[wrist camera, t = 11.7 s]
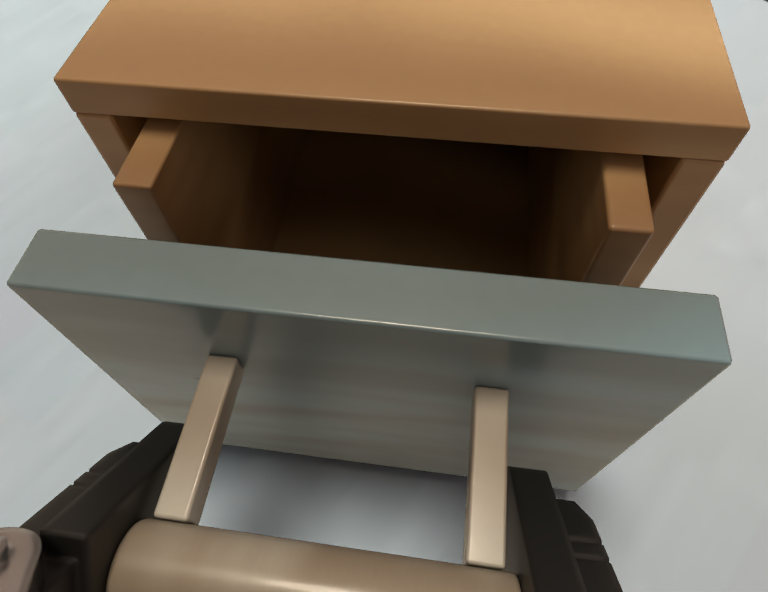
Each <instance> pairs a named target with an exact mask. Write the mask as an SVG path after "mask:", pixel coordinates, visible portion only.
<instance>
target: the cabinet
mask: <svg viewBox="0 0 768 592" xmlns="http://www.w3.org/2000/svg"><path fill="white" fill-rule="evenodd" d="M54 81H55V83H56V85H57V86H58V88H59V89H60V91H61V93H62V94H63V96H64V97H65V99H66V101H67V102H68V104H69V105H70V107H71V109H72V110H73V111H74V112H76V114H77V117H78V119H79V120H80V122H81V123H82V125H83V127H84V128H85V130H86V131H87V133H88V135H89V136H90V138H91V139H92V141H93V143H94V144H95V146H96V147H97V149H98V151H99V152H100V154H101V155H102V157H103V159H104V160H105V162H106V163H107V165H108V167H109V168H110V170H111V171H112V173H113V175H114V176H115V178H116V176H117V174H118V172H119V171H120V169H121V167H122V165H123V163H124V161H125V160H126V158H127V156H128V154H129V152H130V150H131V149H132V147H133V145H134V143H135V141H136V139H137V137H138V136H139V134H140V132H141V130H142V128H143V126H144V125H145V123H146V121H147V119H148V118H160V119H173V120H186V121H200V122H213V123H226V124H239V125H253V126H266V127H279V128H292V129H306V130H319V131H332V132H345V133H359V134H372V135H385V136H398V137H412V138H425V139H438V140H451V141H465V142H478V143H491V144H504V145H518V146H531V147H544V148H557V149H571V150H584V151H597V152H610V153H624V154H637V155H642V156H643V162H644V168H645V175H646V181H647V187H648V193H649V200H650V206H651V212H652V219H653V225H654V234H653V235H652V237H651V239H650V240H649V242H648V243H647V245H646V246H645V248H644V250H643V251H642V253H641V254H640V256H639V258H638V259H637V261H636V262H635V264H634V265H633V267H632V269H631V270H630V272H629V273H628V275H627V277H626V278H625V280H624V281H623V283H622V284H621V286H627V287H637V288H639V287H640V286H641V284H642V283H643V281H644V280H645V278H646V277H647V276H648V274H649V273H650V271H651V270H652V268H653V267H654V265H655V264H656V263H657V261H658V260H659V258H660V257H661V255H662V254H663V252H664V251H665V249H666V248H667V247H668V245H669V244H670V242H671V241H672V239H673V238H674V236H675V235H676V234H677V232H678V231H679V229H680V228H681V226H682V225H683V223H684V222H685V220H686V219H687V218H688V216H689V215H690V213H691V212H692V210H693V209H694V207H695V206H696V205H697V203H698V202H699V200H700V199H701V197H702V196H703V194H704V193H705V192H706V190H707V189H708V187H709V186H710V184H711V183H712V181H713V180H714V178H715V177H716V176H717V174H718V173H719V171H720V170H721V168H722V167H723V165H724V162H725V161H727V160H729V158H730V157H731V155H732V154H733V152H734V151H735V150H736V148H737V147H738V145H739V144H740V142H741V141H742V139H743V138H744V137H745V135H746V134H747V132H748V131H749V129H750V124H749V121H748V117H747V114H746V111H745V108H744V105H743V102H742V99H741V95H740V92H739V89H738V86H737V83H736V80H735V77H734V73H733V70H732V67H731V64H730V61H729V58H728V55H727V51H726V48H725V45H724V42H723V39H722V36H721V32H720V29H719V26H718V23H717V20H716V17H715V14H714V10H713V7H712V4H711V1H710V0H110V1H109V2H108V3H107V5H106V6H105V7H104V9H103V10H102V12H101V13H100V14H99V16H98V17H97V19H96V20H95V21H94V23H93V24H92V26H91V27H90V28H89V30H88V31H87V32H86V34H85V35H84V37H83V38H82V39H81V41H80V42H79V44H78V45H77V46H76V48H75V49H74V51H73V52H72V53H71V55H70V56H69V57H68V59H67V60H66V62H65V63H64V64H63V66H62V67H61V69H60V70H59V71H58V73H57V74H56V76H55V77H54Z"/></svg>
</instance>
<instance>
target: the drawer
mask: <svg viewBox="0 0 768 592" xmlns="http://www.w3.org/2000/svg"><path fill="white" fill-rule="evenodd" d="M113 186H114V188H115V189H116V191H117V193H118V194H119V196H120V197H121V199H122V200H123V202H124V204H125V205H126V207H127V208H128V210H129V211H130V213H131V214H132V216H133V218H134V219H135V221H136V222H137V224H138V225H139V227H140V228H141V230H142V232H143V233H144V235H145V236H146V238H147V239H148V240H146V239H136V238H126V237H116V236H106V235H95V234H85V233H75V232H65V231H55V230H44V229H40V230H38V231H37V233H36V235H35V236H34V238H33V240H32V241H31V243H30V245H29V246H28V248H27V250H26V251H25V253H24V255H23V256H22V258H21V260H20V261H19V263H18V264H17V266H16V268H15V269H14V271H13V273H12V274H11V276H10V278H9V279H8V281H7V285H8V286H9V287H10V288H11V289H12V290H13V291H14V292H15V293H17V294H18V295H19V296H20V297H21V298H22V299H23V300H25V301H26V302H27V303H28V304H29V305H30V306H31V307H32V308H34V309H35V310H36V311H37V312H38V313H39V314H40V315H41V316H43V317H44V318H45V319H46V320H47V321H48V322H49V323H50V324H52V325H53V326H54V327H55V328H56V329H57V330H58V331H60V332H61V333H62V334H63V335H64V336H65V337H66V338H67V339H69V340H70V341H71V342H72V343H73V344H74V345H75V346H76V347H78V348H79V349H80V350H81V351H82V352H83V353H84V354H85V355H87V356H88V357H89V358H90V359H91V360H92V361H93V362H95V363H96V364H97V365H98V366H99V367H100V368H101V369H102V370H104V371H105V372H106V373H107V374H108V375H109V376H110V377H111V378H113V379H114V380H115V381H116V382H117V383H118V384H119V385H121V386H122V387H123V388H124V389H125V390H126V391H127V392H128V393H130V394H131V395H132V396H133V397H134V398H135V399H136V400H137V401H139V402H140V403H141V404H142V405H143V406H144V407H145V408H146V409H148V410H149V411H150V412H151V413H152V414H153V415H154V416H156V417H157V418H158V419H159V420H160V421H161V422H164V421H169V422H176V423H184V427H183V429H182V432H181V435H180V438H179V441H178V444H177V447H176V450H175V453H174V456H173V459H172V462H171V465H170V468H169V471H168V473H167V476H166V479H165V482H164V485H163V488H162V491H161V494H160V497H159V500H158V503H157V506H156V509H155V512H154V516H155V517H156V518H158V519H152V518H146V519H143V520H140V521H138V522H137V523H135V524H134V525H133V526H132V527H131V528H130V529H129V531H128V532H127V533H126V535H125V536H124V538H123V539H122V541H121V543H120V545H119V547H118V549H117V551H116V553H115V556H114V558H113V561H112V564H111V567H110V571H109V575H108V579H107V585H106V592H521V587H520V583H519V580H518V577H517V575H515V574H514V573H512V572H508V571H501V570H502V569H504V568H505V565H506V516H507V466H512V467H520V468H528V469H536V470H543V471H546V472H547V473H548V476H549V479H550V482H551V485H552V488H556V489H563V490H571V491H576V490H577V489H579V488H580V487H581V486H582V485H583V484H585V483H586V482H587V481H588V480H590V479H591V478H592V477H593V476H594V475H596V474H597V473H598V472H599V471H601V470H602V469H603V468H604V467H605V466H607V465H608V464H609V463H610V462H612V461H613V460H614V459H615V458H617V457H618V456H619V455H620V454H621V453H623V452H624V451H625V450H626V449H628V448H629V447H630V446H631V445H632V444H634V443H635V442H636V441H637V440H639V439H640V438H641V437H642V436H644V435H645V434H646V433H647V432H648V431H650V430H651V429H652V428H653V427H655V426H656V425H657V424H658V423H659V422H661V421H662V420H663V419H664V418H666V417H667V416H668V415H669V414H671V413H672V412H673V411H674V410H675V409H677V408H678V407H679V406H680V405H682V404H683V403H684V402H685V401H686V400H688V399H689V398H690V397H691V396H693V395H694V394H695V393H696V392H698V391H699V390H700V389H701V388H702V387H704V386H705V385H706V384H707V383H709V382H710V381H711V380H712V379H713V378H715V377H716V376H717V375H718V374H720V373H721V372H722V371H723V370H725V369H726V368H727V367H728V366H729V365H731V362H732V359H731V354H730V349H729V345H728V340H727V336H726V331H725V327H724V322H723V317H722V313H721V308H720V304H719V299H718V297H717V296H715V295H708V294H698V293H688V292H678V291H668V290H657V289H647V288H637V287H627V286H621V284H622V283H623V281H624V280H625V278H626V277H627V275H628V273H629V272H630V270H631V269H632V267H633V265H634V264H635V262H636V261H637V259H638V258H639V256H640V254H641V253H642V251H643V250H644V248H645V246H646V245H647V243H648V242H649V240H650V239H651V237H652V235H653V234H654V225H653V219H652V212H651V206H650V200H649V193H648V187H647V181H646V175H645V168H644V162H643V156H642V155H637V154H624V153H610V152H597V151H584V150H571V149H557V148H544V147H531V146H518V145H504V144H491V143H478V142H465V141H451V140H438V139H425V138H412V137H398V136H385V135H372V134H359V133H345V132H332V131H319V130H306V129H292V128H279V127H266V126H253V125H239V124H226V123H213V122H200V121H186V120H173V119H160V118H148V119H147V121H146V123H145V125H144V126H143V128H142V130H141V132H140V134H139V136H138V137H137V139H136V141H135V143H134V145H133V147H132V149H131V150H130V152H129V154H128V156H127V158H126V160H125V161H124V163H123V165H122V167H121V169H120V171H119V172H118V174H117V176H116V178H115V180H114V182H113ZM222 444H226V445H234V446H241V447H249V448H256V449H264V450H271V451H279V452H286V453H294V454H301V455H309V456H316V457H324V458H331V459H339V460H346V461H354V462H361V463H369V464H376V465H384V466H391V467H399V468H406V469H414V470H421V471H429V472H436V473H444V474H451V475H459V476H466V477H467V494H466V512H465V530H464V548H463V565H461V564H454V563H448V562H441V561H434V560H428V559H421V558H414V557H407V556H401V555H394V554H387V553H381V552H374V551H367V550H360V549H354V548H347V547H340V546H334V545H327V544H320V543H313V542H307V541H300V540H293V539H287V538H280V537H273V536H266V535H260V534H253V533H246V532H240V531H233V530H226V529H220V528H213V527H206V526H199V525H198V524H199V521H200V518H201V515H202V511H203V508H204V505H205V501H206V498H207V494H208V491H209V488H210V484H211V481H212V478H213V474H214V471H215V467H216V464H217V461H218V457H219V454H220V451H221V447H222ZM159 519H161V520H159Z"/></svg>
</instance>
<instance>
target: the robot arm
mask: <svg viewBox="0 0 768 592" xmlns="http://www.w3.org/2000/svg"><path fill="white" fill-rule="evenodd" d="M183 427H184V423H176V422H169V421H164V422H162V423H161V424H159V425H158V426H157V427H156V428H155V429H154V430H153V431H152V432H150V433H149V434H148V435H147V436H146V437H145V438H144V439H142V440H141V441H140V442H139V443H138V442H132V443H130V444H128V445H126V446H123V447H121V448H119V449H117V450H115V451H112V452H110V453H108V454H107V455H106V456H104V457H103V458H102V459H101V460H100V461H98V462H97V463H96V464H95V465H94V466H92V467H91V468H90V470H89V472H85V473H84V474H83V475H82V476H80V477H79V478H78V479H77V480H76V481H74V485H70V486H68V487H67V488H66V489H65V490H64V491H62V492H61V493H60V494H59V495H58V496H56V497H55V498H54V499H53V500H52V501H50V502H49V503H48V504H47V505H45V506H44V507H43V508H42V509H41V510H39V511H38V512H37V513H36V514H35V515H33V516H32V517H31V518H30V519H29V520H27V521H26V522H25V523H24V524H23V525H21V526H20V527H19V528H18V527H5V528H0V592H106V585H107V579H108V575H109V571H110V567H111V564H112V561H113V558H114V556H115V553H116V551H117V549H118V547H119V545H120V543H121V541H122V539H123V538H124V536H125V535H126V533H127V532H128V531H129V529H130V528H131V527H132V526H133V525H134V524H135V523H137V522H138V521H140V520H143V519H146V518H152V519H158V518H156V517H155V516H154V512H155V509H156V506H157V503H158V500H159V497H160V494H161V491H162V488H163V485H164V482H165V479H166V476H167V473H168V471H169V468H170V465H171V462H172V459H173V456H174V453H175V450H176V447H177V444H178V441H179V438H180V435H181V432H182V429H183ZM159 520H161V519H159ZM601 542H602V541H601V538H600V536H599V534H598V531H597V529H596V526H595V524H594V522H593V520H592V519H591V518H590V517H589V516H588V515H587V514H586V513H585V512H584V511H583V510H582V509H581V508H580V507H579V506H578V505H577V504H576V503H575V502H574V501H567V500H560V499H556V497H555V494H554V491H553V488H552V485H551V482H550V479H549V476H548V473H547V472H546V471H543V470H536V469H528V468H520V467H512V466H507V516H506V565H505V568H504V569H502V570H501V571H508V572H512V573H514V574H515V575H517V577H518V580H519V583H520V587H521V592H623V591H622V589H621V586H620V584H619V582H618V579H617V577H616V574H615V572H614V570H613V567H612V565H611V563H609V558H608V555H607V553H606V550H605V548H604V546H603V545H602V544H601Z"/></svg>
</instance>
